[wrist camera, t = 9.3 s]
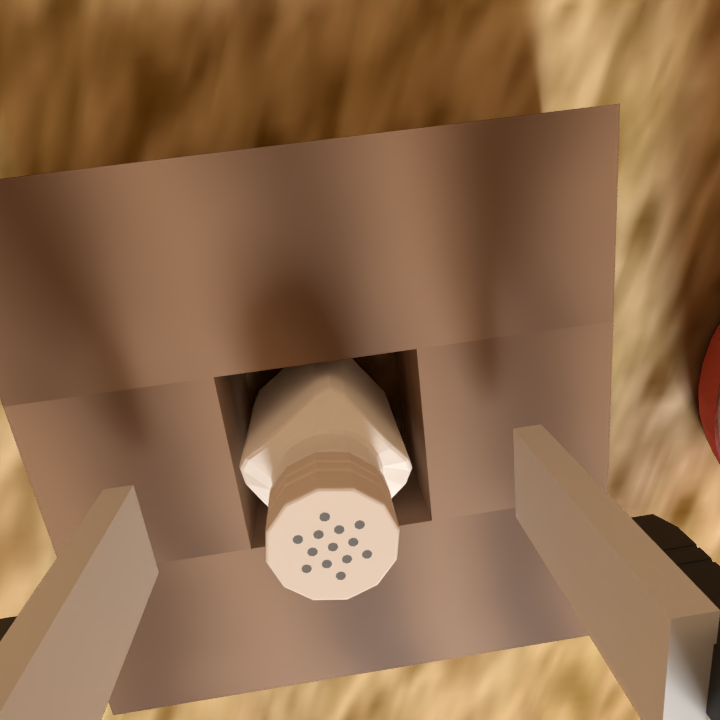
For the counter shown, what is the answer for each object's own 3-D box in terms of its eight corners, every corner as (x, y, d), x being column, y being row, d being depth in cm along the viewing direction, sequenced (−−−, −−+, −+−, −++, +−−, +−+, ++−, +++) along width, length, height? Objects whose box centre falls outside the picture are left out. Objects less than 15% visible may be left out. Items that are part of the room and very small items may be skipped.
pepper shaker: (319, 459, 22) (328, 643, 13) (250, 394, 21) (208, 549, 12) (392, 396, 22) (451, 545, 13) (324, 326, 21) (337, 436, 12)
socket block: (151, 610, 24) (113, 715, 19) (24, 187, 18) (-75, 188, 14) (547, 547, 25) (603, 633, 20) (543, 123, 19) (619, 103, 14)
